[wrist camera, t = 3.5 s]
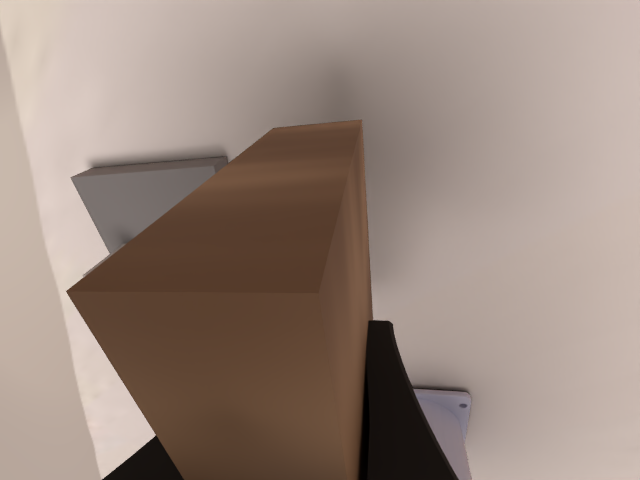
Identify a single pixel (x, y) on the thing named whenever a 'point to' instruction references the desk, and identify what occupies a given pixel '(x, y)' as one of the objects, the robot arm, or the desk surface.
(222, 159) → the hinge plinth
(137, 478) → the robot arm
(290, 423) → the door panel
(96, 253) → the desk surface
